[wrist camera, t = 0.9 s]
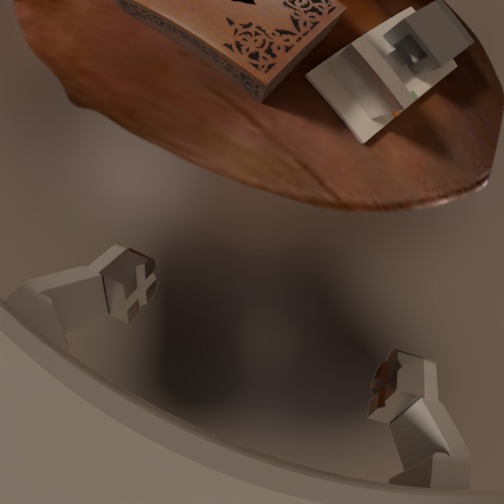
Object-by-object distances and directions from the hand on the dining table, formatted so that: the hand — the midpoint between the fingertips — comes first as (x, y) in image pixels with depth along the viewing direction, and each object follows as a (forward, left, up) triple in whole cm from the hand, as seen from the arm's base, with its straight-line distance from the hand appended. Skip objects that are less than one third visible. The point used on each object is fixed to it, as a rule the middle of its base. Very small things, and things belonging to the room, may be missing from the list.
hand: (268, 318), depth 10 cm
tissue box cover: (-23, +15, -33) cm, 43 cm away
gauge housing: (-3, +35, -32) cm, 47 cm away
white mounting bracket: (-2, +25, -32) cm, 41 cm away
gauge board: (-2, +28, -33) cm, 44 cm away
